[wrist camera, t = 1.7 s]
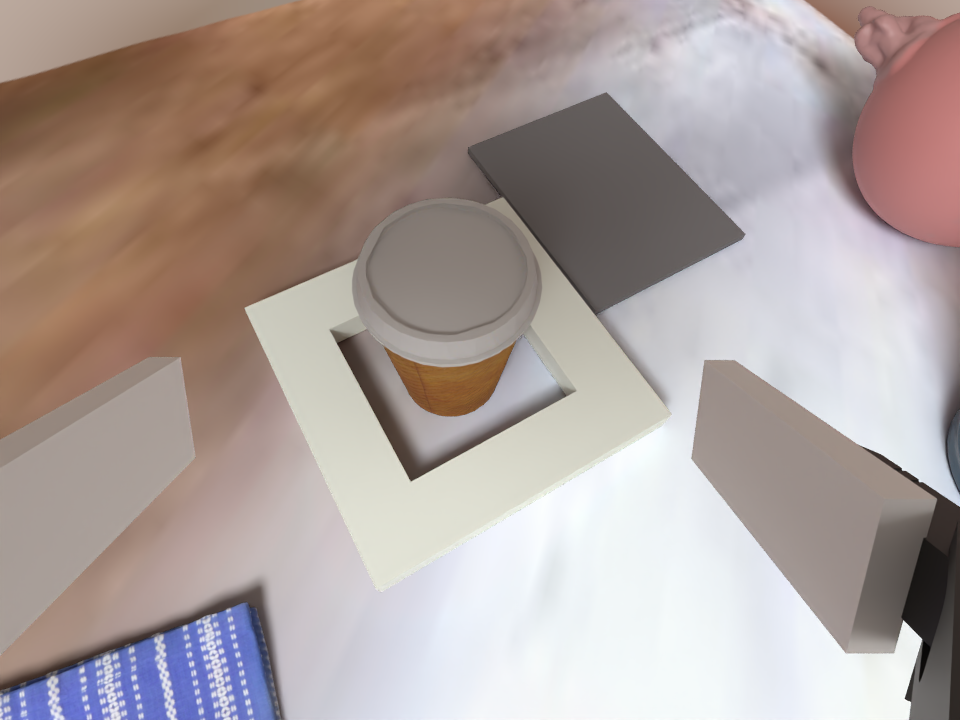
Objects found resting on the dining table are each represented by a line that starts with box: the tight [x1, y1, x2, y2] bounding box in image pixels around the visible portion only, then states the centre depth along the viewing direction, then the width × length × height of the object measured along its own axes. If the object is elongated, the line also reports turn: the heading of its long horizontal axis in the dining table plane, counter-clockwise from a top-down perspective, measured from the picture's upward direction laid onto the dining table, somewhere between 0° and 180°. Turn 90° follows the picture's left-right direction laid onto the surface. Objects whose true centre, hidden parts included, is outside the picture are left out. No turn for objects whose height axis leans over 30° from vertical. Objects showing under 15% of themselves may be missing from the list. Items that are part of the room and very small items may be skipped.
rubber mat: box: [468, 92, 745, 314], centre depth 46 cm, size 18×14×1 cm
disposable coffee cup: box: [352, 198, 542, 416], centre depth 33 cm, size 10×10×12 cm
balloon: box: [852, 6, 960, 247], centre depth 40 cm, size 15×20×15 cm
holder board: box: [245, 197, 672, 593], centre depth 38 cm, size 20×20×2 cm
